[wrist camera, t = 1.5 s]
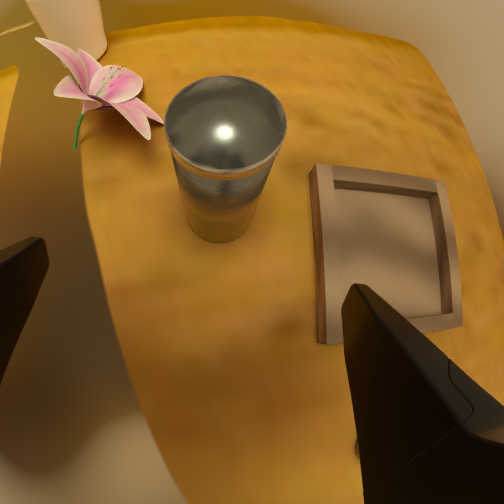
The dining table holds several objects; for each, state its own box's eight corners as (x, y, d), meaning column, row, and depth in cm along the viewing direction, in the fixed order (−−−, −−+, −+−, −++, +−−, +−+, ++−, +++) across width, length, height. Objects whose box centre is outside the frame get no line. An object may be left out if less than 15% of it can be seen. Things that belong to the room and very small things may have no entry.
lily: (157, 204, 22) (200, 95, 15) (9, 195, 16) (-2, 76, 9) (154, 115, 28) (186, 32, 21) (44, 105, 22) (57, 15, 15)
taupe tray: (445, 326, 22) (462, 326, 20) (315, 342, 21) (326, 344, 19) (430, 191, 25) (444, 181, 23) (307, 176, 23) (316, 163, 21)
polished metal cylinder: (252, 244, 21) (291, 173, 11) (184, 243, 21) (157, 170, 10) (252, 182, 22) (282, 79, 12) (187, 180, 22) (172, 75, 11)
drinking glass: (70, 41, 24) (36, -57, 9) (122, 32, 25) (101, -78, 10) (48, 81, 22) (-5, -24, 8) (103, 73, 23) (65, -53, 9)
